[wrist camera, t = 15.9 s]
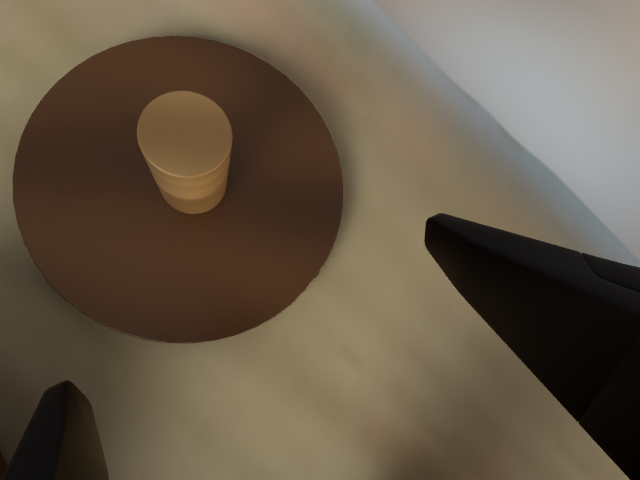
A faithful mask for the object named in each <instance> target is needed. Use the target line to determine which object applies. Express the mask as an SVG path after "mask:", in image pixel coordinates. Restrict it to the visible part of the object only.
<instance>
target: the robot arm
mask: <svg viewBox="0 0 640 480" xmlns="http://www.w3.org/2000/svg"><path fill="white" fill-rule="evenodd" d="M425 246H426V248H427V250H428V251H429V253H430V254H431V255H432V257H433V258H434V260H435V261H436V262H437V264H438V265H439V266H440V268H441V269H442V270H443V272H444V273H445V274H446V276H447V277H448V279H449V280H450V281H451V283H452V284H453V285H454V287H455V288H456V289H457V290H458V292H459V293H460V294H461V295H462V296H463V297H464V299H465V300H466V301H467V302H468V303H469V304H470V305H471V306H472V307H473V308H474V309H475V311H476V312H477V313H478V314H479V315H480V316H481V317H482V318H483V319H484V320H485V321H486V323H487V324H488V325H489V326H490V327H491V328H492V329H493V330H494V331H495V332H496V333H497V335H498V336H499V337H500V338H501V339H502V340H503V341H504V342H505V343H506V344H507V345H508V347H509V348H510V349H511V350H512V351H513V352H514V353H515V354H516V355H517V356H518V358H519V359H520V360H521V361H522V362H523V363H524V364H525V365H526V366H527V367H528V368H529V370H530V371H531V372H532V373H533V374H534V375H535V376H536V377H537V378H538V379H539V380H540V382H541V383H542V384H543V385H544V386H545V387H546V388H547V389H548V390H549V391H550V392H551V394H552V395H553V396H554V397H555V398H556V399H557V400H558V401H559V402H560V403H561V404H562V406H563V407H564V408H565V409H566V410H567V411H568V412H569V413H570V414H571V415H572V416H573V418H574V419H575V420H576V421H577V422H579V424H580V426H581V427H582V428H583V429H584V430H585V431H586V432H587V433H588V434H589V435H590V436H591V438H592V439H593V440H594V441H595V442H596V443H597V444H598V445H599V446H600V447H601V448H602V450H603V451H604V452H605V453H606V454H607V455H608V456H609V457H610V458H611V459H612V460H613V462H614V463H615V464H616V465H617V466H618V467H619V468H620V469H621V470H622V471H623V472H624V474H625V475H626V476H627V477H628V478H629V479H630V480H640V268H639V267H635V266H631V265H626V264H622V263H618V262H615V261H611V260H607V259H603V258H599V257H596V256H592V255H589V254H585V253H580V252H578V251H574V250H571V249H567V248H564V247H560V246H557V245H553V244H550V243H546V242H543V241H539V240H535V239H532V238H528V237H525V236H521V235H518V234H514V233H511V232H507V231H504V230H500V229H497V228H493V227H489V226H486V225H482V224H479V223H475V222H472V221H468V220H465V219H461V218H458V217H454V216H451V215H447V214H443V213H439V214H437V215H434V216H432V217H430V218H428V219H427V221H426V228H425ZM2 480H109V477H108V472H107V467H106V463H105V459H104V454H103V450H102V446H101V442H100V438H99V434H98V430H97V426H96V422H95V418H94V414H93V410H92V406H91V404H90V402H89V400H88V399H87V398H86V397H85V395H84V394H83V393H82V392H81V391H80V390H79V389H78V388H77V387H76V386H75V385H74V384H73V383H72V382H71V381H68V380H66V381H63V382H60V383H58V384H56V385H54V386H52V387H49V388H48V389H47V390H46V391H45V392H44V394H43V396H42V398H41V400H40V402H39V404H38V406H37V408H36V410H35V412H34V414H33V416H32V418H31V420H30V423H29V425H28V427H27V429H26V431H25V433H24V435H23V437H22V439H21V441H20V443H19V445H18V447H17V449H16V451H15V453H14V456H13V458H12V460H11V462H10V464H9V466H8V468H7V470H6V472H5V474H4V476H3V478H2Z"/></svg>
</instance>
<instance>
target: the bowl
mask: <svg viewBox="0 0 640 480" xmlns="http://www.w3.org/2000/svg"><path fill="white" fill-rule="evenodd" d="M7 468H8V466H7V464H6V463H5V461H4V459H3V457H2V455H1V453H0V480H2V478H3V476H4V474H5V472H6V470H7Z"/></svg>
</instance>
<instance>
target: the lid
mask: <svg viewBox="0 0 640 480" xmlns="http://www.w3.org/2000/svg"><path fill="white" fill-rule="evenodd" d="M13 202H14V208H15V213H16V219H17V223H18V226H19V229H20V232H21V235H22V238H23V241H24V244H25V246H26V248H27V250H28V251H29V253H30V255H31V257H32V259H33V261H34V263H35V265H36V266H37V267H38V269H39V270H40V271H41V273H42V274H43V276H44V277H45V278H46V280H47V281H48V283H49V284H50V285H51V286H52V287H53V288H54V289H55V290H56V291H57V292H58V293H59V294H60V295H61V296H62V297H63V298H64V299H65V300H66V301H68V302H69V303H70V304H72V305H73V306H74V307H75V308H77V309H78V310H79V311H81V312H82V313H83V314H85V315H87V316H88V317H90V318H92V319H93V320H95V321H97V322H99V323H100V324H102V325H104V326H106V327H109V328H111V329H114V330H116V331H119V332H121V333H123V334H126V335H130V336H134V337H138V338H141V339H145V340H151V341H158V342H166V343H198V342H206V341H213V340H218V339H222V338H226V337H230V336H234V335H237V334H240V333H242V332H245V331H247V330H250V329H252V328H255V327H257V326H259V325H260V324H262V323H264V322H266V321H268V320H269V319H271V318H273V317H275V316H276V315H277V314H279V313H280V312H281V311H283V310H284V309H285V308H287V307H288V306H289V305H291V304H292V303H293V302H294V301H295V300H296V299H297V298H298V297H299V296H300V295H301V294H302V293H303V292H304V291H305V290H306V289H307V288H308V286H309V285H310V284H311V283H312V281H313V280H314V279H315V278H316V276H317V275H318V273H319V272H320V270H321V268H322V267H323V265H324V263H325V262H326V260H327V258H328V256H329V254H330V251H331V249H332V247H333V244H334V242H335V239H336V235H337V232H338V228H339V225H340V219H341V212H342V206H343V184H342V175H341V168H340V163H339V159H338V155H337V151H336V148H335V146H334V143H333V140H332V138H331V135H330V133H329V131H328V129H327V127H326V125H325V123H324V121H323V119H322V118H321V116H320V115H319V113H318V112H317V110H316V109H315V107H314V106H313V104H312V103H311V102H310V100H309V99H308V98H307V97H306V96H305V95H304V94H303V92H302V91H301V90H300V89H299V88H298V87H297V86H296V85H295V84H294V83H293V82H291V81H290V80H289V79H288V78H287V77H286V76H285V75H284V74H282V73H281V72H279V71H278V70H277V69H275V68H274V67H272V66H271V65H270V64H268V63H266V62H265V61H263V60H261V59H259V58H257V57H256V56H254V55H252V54H250V53H248V52H245V51H243V50H240V49H238V48H236V47H233V46H230V45H226V44H223V43H220V42H216V41H212V40H206V39H200V38H195V37H178V36H168V37H152V38H147V39H141V40H136V41H131V42H128V43H124V44H121V45H118V46H115V47H112V48H109V49H107V50H105V51H103V52H101V53H98V54H96V55H94V56H92V57H90V58H89V59H87V60H86V61H84V62H82V63H81V64H79V65H78V66H76V67H74V68H73V69H72V70H71V71H70V72H68V73H67V74H66V75H65V76H64V77H62V78H61V79H60V80H59V81H58V82H57V83H56V84H55V85H54V86H53V87H52V88H51V89H50V90H49V92H48V93H47V94H46V95H45V96H44V97H43V98H42V100H41V101H40V103H39V104H38V106H37V107H36V109H35V110H34V112H33V113H32V115H31V117H30V119H29V121H28V123H27V125H26V127H25V129H24V132H23V134H22V136H21V140H20V143H19V146H18V150H17V153H16V157H15V164H14V172H13Z"/></svg>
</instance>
